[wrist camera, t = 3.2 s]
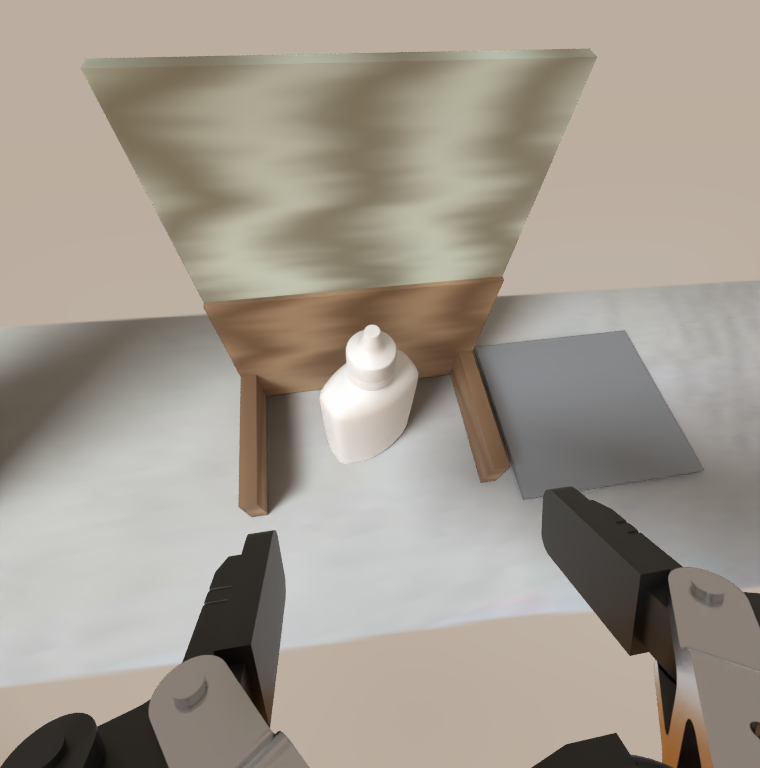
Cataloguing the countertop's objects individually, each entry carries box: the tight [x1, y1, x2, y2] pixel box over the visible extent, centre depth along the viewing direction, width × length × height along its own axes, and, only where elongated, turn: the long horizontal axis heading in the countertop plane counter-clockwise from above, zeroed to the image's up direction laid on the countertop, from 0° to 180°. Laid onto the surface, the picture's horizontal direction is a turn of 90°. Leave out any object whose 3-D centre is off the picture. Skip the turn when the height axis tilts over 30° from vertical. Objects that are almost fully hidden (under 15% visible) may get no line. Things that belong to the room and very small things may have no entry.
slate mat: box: [474, 331, 704, 499], centre depth 29 cm, size 13×12×1 cm
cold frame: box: [81, 49, 597, 517], centre depth 19 cm, size 16×10×20 cm, turn 99°
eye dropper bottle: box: [319, 325, 418, 464], centre depth 22 cm, size 4×6×12 cm
